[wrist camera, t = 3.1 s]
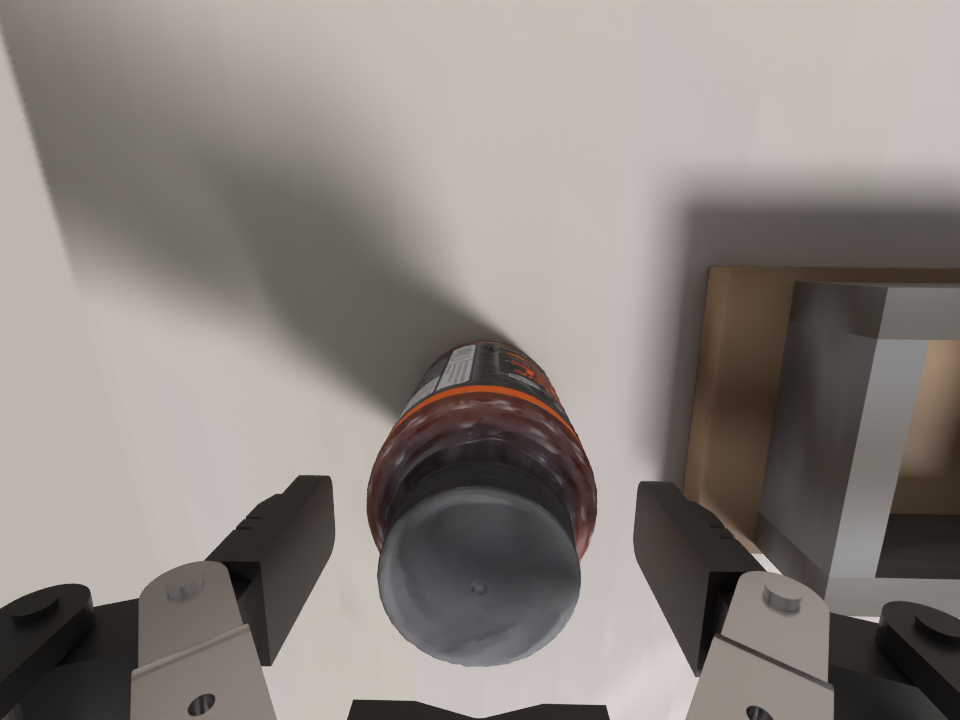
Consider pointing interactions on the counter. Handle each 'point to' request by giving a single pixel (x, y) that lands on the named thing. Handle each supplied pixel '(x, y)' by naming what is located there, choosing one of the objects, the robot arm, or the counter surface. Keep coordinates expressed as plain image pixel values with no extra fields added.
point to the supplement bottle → (481, 510)
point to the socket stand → (835, 428)
